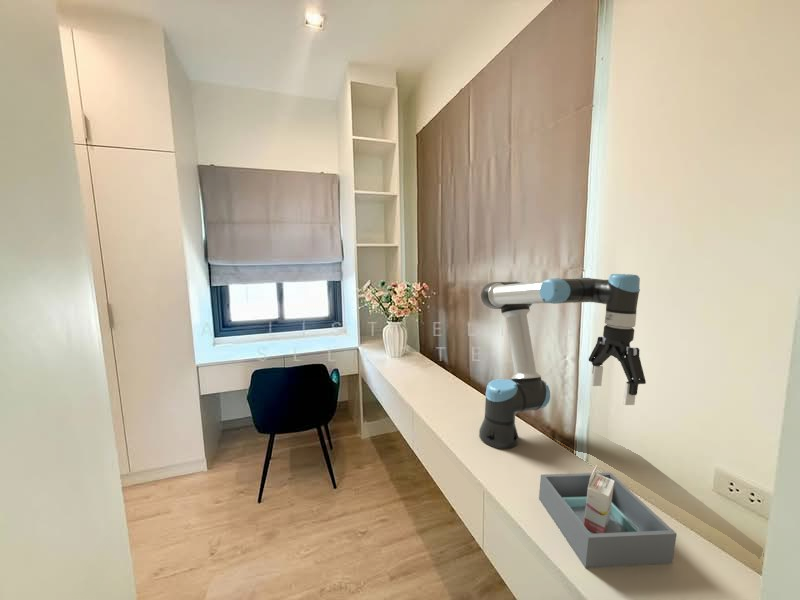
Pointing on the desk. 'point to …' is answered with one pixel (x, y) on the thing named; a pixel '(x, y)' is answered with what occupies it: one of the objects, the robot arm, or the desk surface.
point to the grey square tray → (626, 531)
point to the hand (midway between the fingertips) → (611, 394)
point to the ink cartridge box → (598, 502)
